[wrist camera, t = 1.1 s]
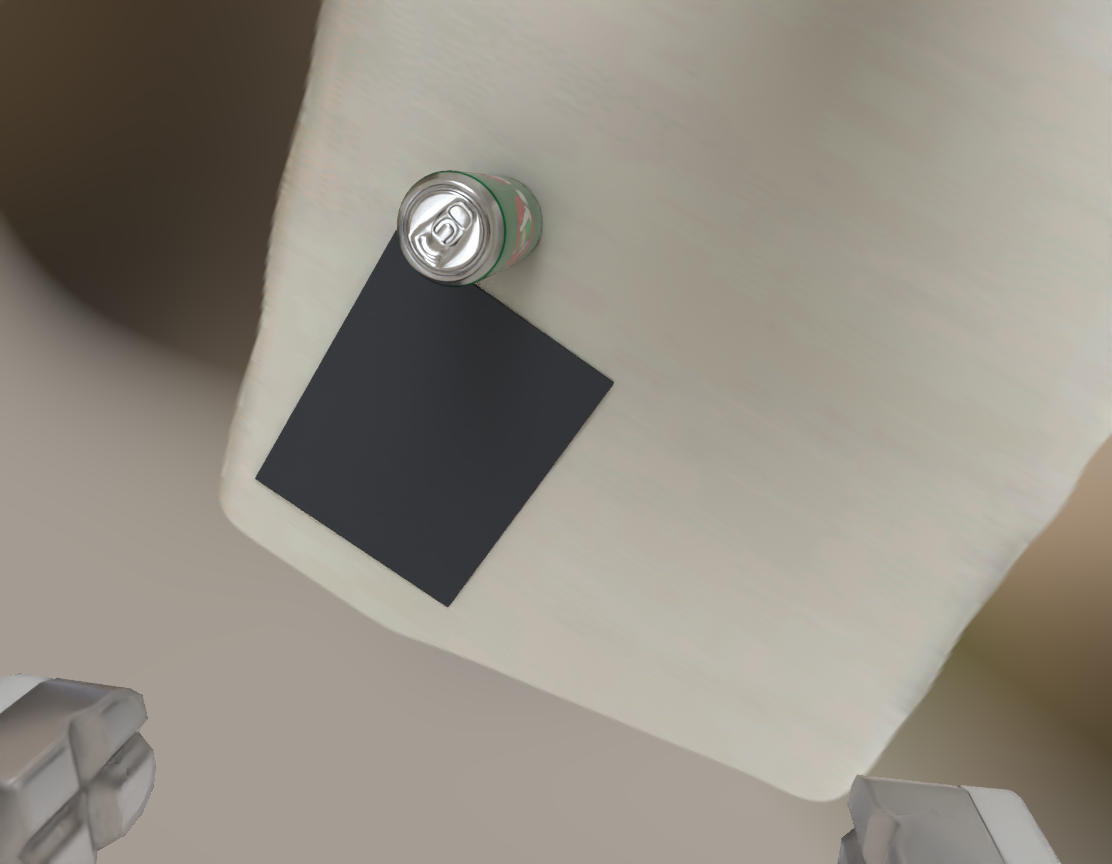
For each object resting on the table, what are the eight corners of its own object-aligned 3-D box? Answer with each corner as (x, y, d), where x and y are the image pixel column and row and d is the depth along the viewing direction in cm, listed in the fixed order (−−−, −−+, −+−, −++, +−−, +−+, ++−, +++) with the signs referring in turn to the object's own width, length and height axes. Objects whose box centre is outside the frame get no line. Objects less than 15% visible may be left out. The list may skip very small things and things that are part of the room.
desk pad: (397, 230, 44) (395, 230, 44) (614, 382, 45) (613, 383, 45) (257, 477, 51) (254, 478, 50) (448, 605, 52) (447, 607, 51)
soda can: (442, 220, 44) (365, 228, 32) (501, 157, 42) (442, 143, 31) (501, 283, 44) (446, 313, 33) (561, 223, 43) (525, 233, 31)
